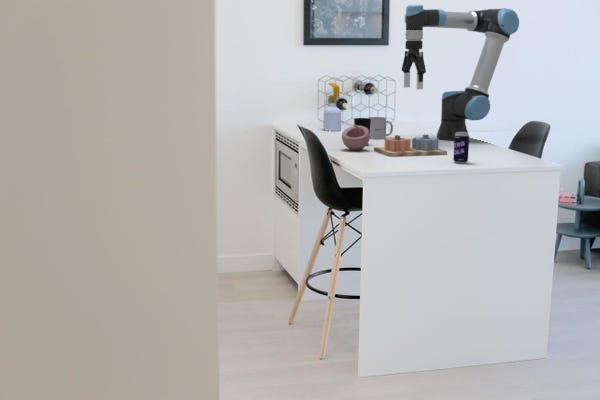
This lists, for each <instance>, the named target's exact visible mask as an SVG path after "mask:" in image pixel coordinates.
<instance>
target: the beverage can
mask: <svg viewBox="0 0 600 400" xmlns="http://www.w3.org/2000/svg"><path fill="white" fill-rule="evenodd" d="M453 141H454V142H453V160H452V161H453V162H454V163H455V164H460V163H464V164H467V162H469V148H470V143H469V142H470V135H469V132H456V134H455V136H454V140H453Z"/></svg>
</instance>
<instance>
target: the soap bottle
mask: <svg viewBox="0 0 600 400" xmlns="http://www.w3.org/2000/svg"><path fill="white" fill-rule="evenodd" d="M328 85H329V86H331V87H332V90H333V93H332V94H333V95H329V96H327V98H329V99H330V101H329V103H328V105H329V106H328V107H326V108H324V111H323V130H324V129H326V130H330V131H329V132H341V130H342V111H341V109H340V108H339V107H337V105H336V104H337V102H336V101H335V99H336V98H339V97H340V86H339V85H338V84H336V83H334V82H329V83H328Z"/></svg>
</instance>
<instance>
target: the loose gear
mask: <svg viewBox="0 0 600 400" xmlns="http://www.w3.org/2000/svg"><path fill="white" fill-rule="evenodd" d="M411 142H412V141H411V139H410V138H405V137H400V140H395V137H386V138H385V139H384V147H385V149H384V150H389V151H401V152H402V151H410V146H411Z"/></svg>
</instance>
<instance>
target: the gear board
mask: <svg viewBox="0 0 600 400" xmlns="http://www.w3.org/2000/svg"><path fill="white" fill-rule="evenodd" d="M422 137H423V139H428V137H429V134H423V135H422ZM394 138H395V140H400V138H401V135H394ZM384 149H385V146H379V147H376V146H375V147H373V151H374V152H376V153H378V154H382V155H384V156H387V157H389V158H390V157H391V158H392V157H393V158H394V157H417V156H418V157H421V156H424V157H425V156H426V157H427V156H447V155H448V151H447V150H444V149H441V148H438V149H436V150H428V151H424V150H415V149H412V145H410V151H402V152H401V151H389V150H384Z"/></svg>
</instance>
